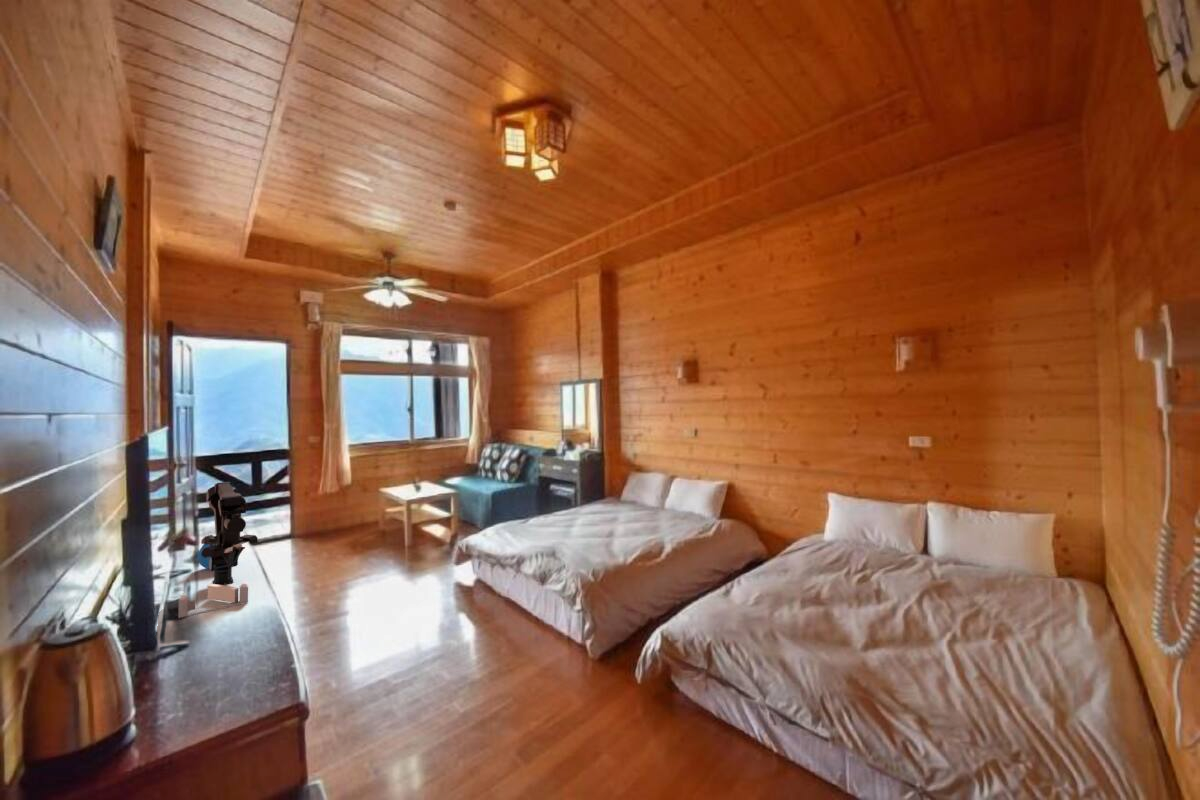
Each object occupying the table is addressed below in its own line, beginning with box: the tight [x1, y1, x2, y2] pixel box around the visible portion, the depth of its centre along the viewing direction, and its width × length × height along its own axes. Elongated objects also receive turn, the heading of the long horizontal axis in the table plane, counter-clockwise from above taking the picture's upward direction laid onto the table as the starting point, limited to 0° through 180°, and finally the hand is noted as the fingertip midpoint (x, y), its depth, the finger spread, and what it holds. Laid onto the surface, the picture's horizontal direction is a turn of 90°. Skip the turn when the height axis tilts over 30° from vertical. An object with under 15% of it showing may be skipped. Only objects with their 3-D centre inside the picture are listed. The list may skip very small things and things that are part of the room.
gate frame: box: [178, 582, 249, 619], centre depth 170 cm, size 3×19×7 cm, turn 131°
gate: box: [206, 583, 240, 603], centre depth 176 cm, size 2×14×5 cm, turn 76°
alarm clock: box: [197, 534, 216, 570], centre depth 209 cm, size 13×6×15 cm, turn 122°
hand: (230, 567), depth 182 cm, fingers closed
